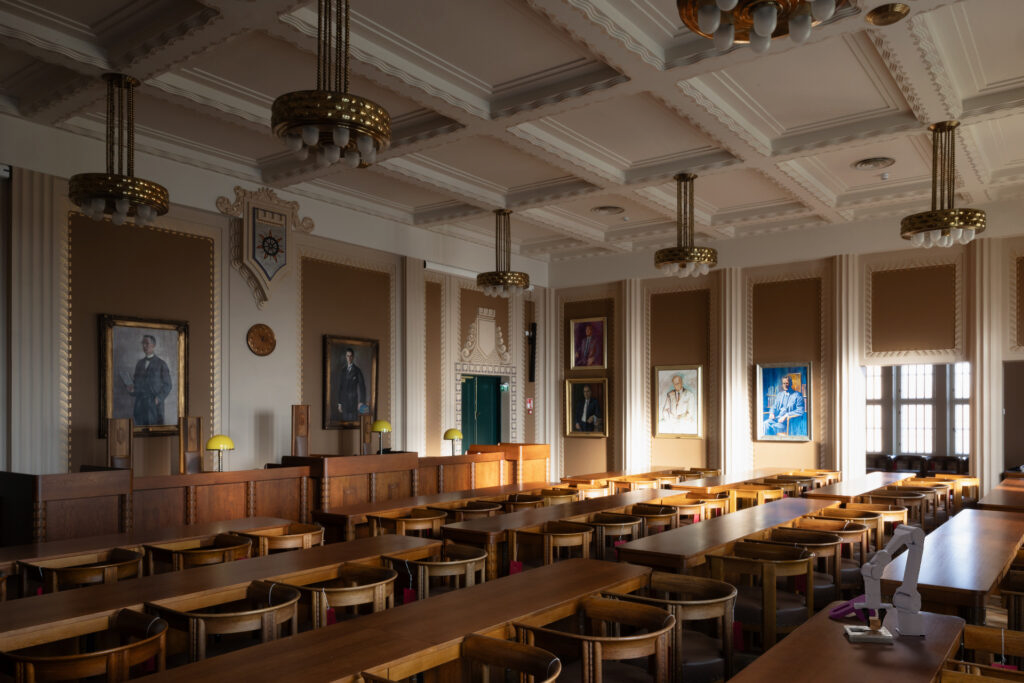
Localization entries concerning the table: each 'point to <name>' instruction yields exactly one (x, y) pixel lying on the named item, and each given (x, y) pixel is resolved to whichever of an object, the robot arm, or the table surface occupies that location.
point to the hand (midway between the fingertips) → (874, 626)
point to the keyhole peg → (875, 624)
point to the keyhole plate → (868, 634)
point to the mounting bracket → (850, 609)
